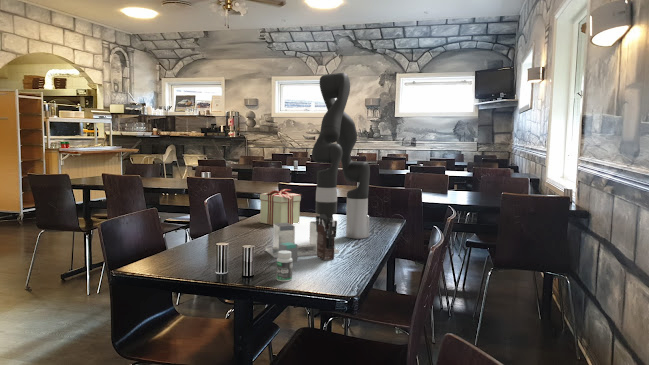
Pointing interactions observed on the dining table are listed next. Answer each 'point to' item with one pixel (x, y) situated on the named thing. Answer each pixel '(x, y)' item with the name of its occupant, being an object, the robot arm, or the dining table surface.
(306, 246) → the rail panel
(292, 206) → the gift box
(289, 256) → the pill bottle
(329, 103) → the robot arm
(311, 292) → the dining table surface
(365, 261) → the dining table surface
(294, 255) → the block
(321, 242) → the box
